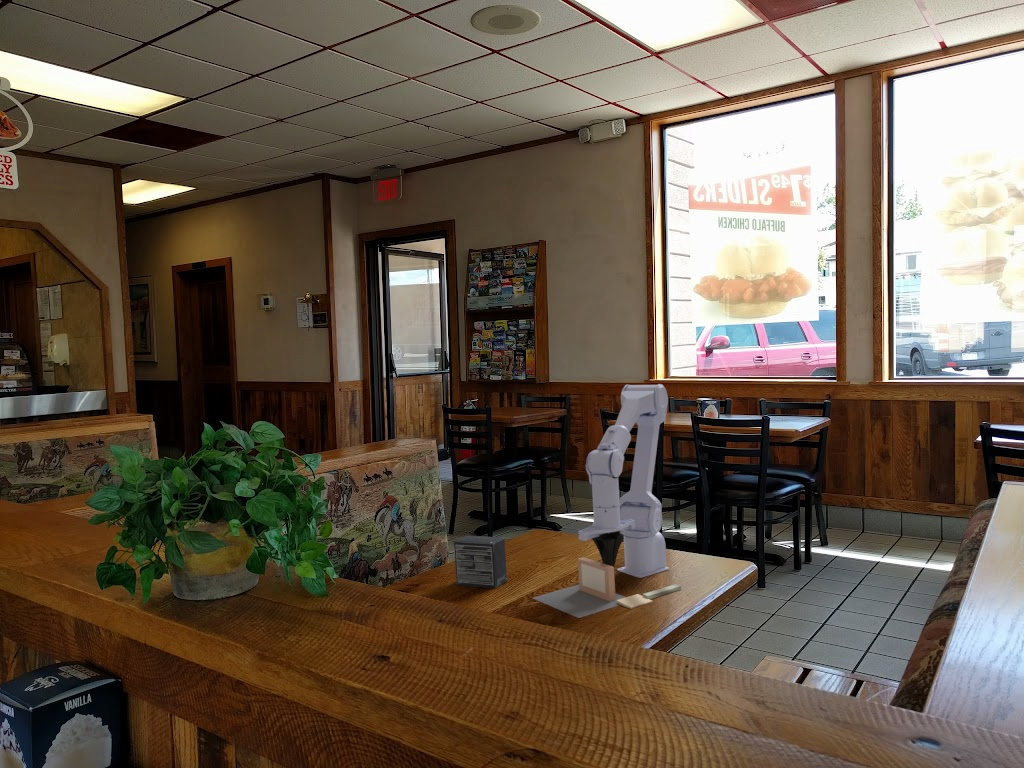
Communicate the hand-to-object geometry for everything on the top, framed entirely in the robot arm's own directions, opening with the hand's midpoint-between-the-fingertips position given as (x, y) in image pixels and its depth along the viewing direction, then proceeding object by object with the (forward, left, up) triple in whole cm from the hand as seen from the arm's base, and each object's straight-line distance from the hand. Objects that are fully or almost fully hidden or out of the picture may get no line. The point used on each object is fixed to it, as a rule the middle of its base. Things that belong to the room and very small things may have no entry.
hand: (609, 567), depth 170 cm
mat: (+8, 0, -6) cm, 9 cm away
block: (+4, 0, -5) cm, 6 cm away
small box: (+17, -25, -6) cm, 31 cm away
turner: (-4, +9, -5) cm, 11 cm away
